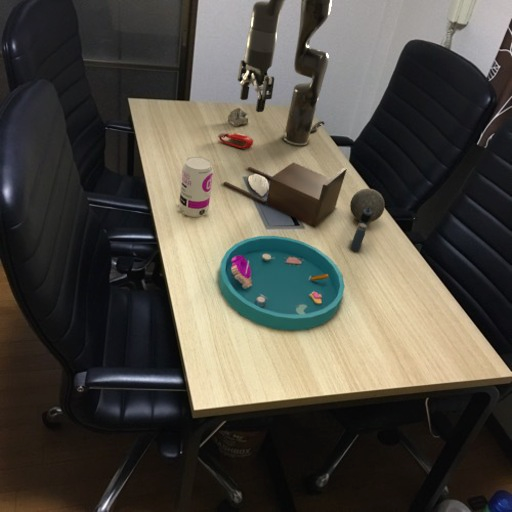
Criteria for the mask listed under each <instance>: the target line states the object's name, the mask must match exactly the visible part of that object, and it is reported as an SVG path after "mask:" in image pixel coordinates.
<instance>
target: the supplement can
mask: <svg viewBox="0 0 512 512" xmlns="http://www.w3.org/2000/svg"><path fill="white" fill-rule="evenodd" d="M213 175H214V167H213V165H212V162H211V161H210V160H209V159H208V158H206V157H203V156H198V155H197V156H196V155H195V156H190V157H187V158H186V159H185V161H184V163H183V164H182V167H181V177H180V190H179V191H180V192H179V204H178V207H179V210H180V212H181V213H183V215H186V216H188V217H191V218H197V217H198V218H199V217H203V216H204V215H206V214H207V213H209V209H210V200H211V192H212V184H213Z"/></svg>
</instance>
